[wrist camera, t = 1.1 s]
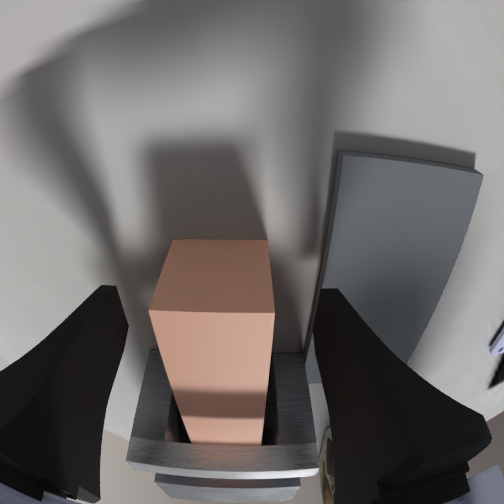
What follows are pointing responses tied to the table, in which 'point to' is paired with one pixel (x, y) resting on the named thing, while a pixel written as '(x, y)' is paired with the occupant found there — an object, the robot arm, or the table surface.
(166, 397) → the dispenser
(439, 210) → the pad
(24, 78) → the table surface
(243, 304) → the salmon rectangular block
